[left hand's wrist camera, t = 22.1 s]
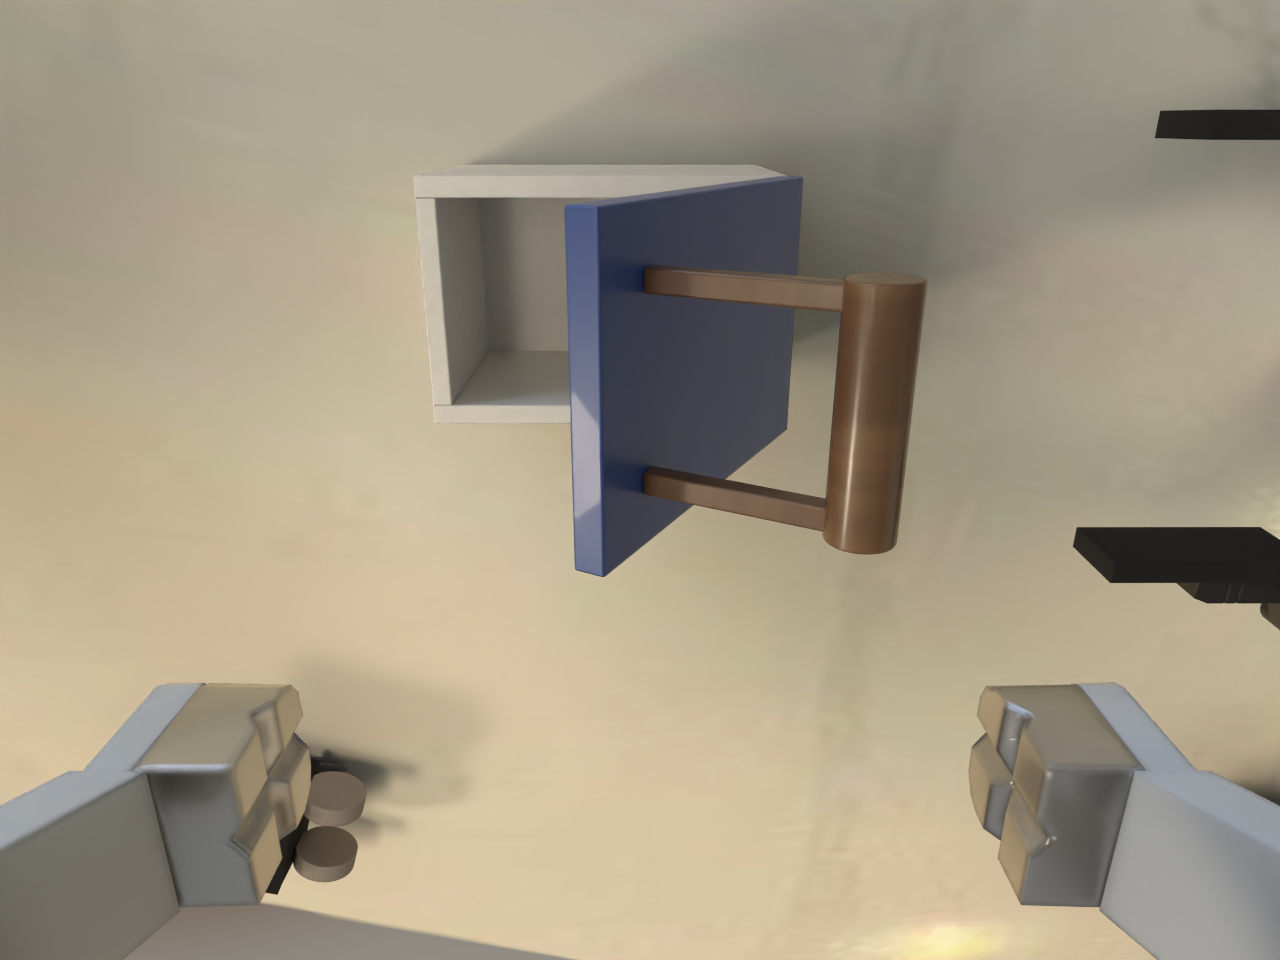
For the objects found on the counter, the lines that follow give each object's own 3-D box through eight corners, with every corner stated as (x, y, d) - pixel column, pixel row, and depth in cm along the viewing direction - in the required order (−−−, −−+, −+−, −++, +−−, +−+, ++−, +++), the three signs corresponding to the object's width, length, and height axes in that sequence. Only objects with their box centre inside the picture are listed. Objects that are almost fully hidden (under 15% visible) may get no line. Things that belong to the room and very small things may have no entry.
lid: (573, 570, 25) (862, 646, 22) (563, 204, 22) (908, 220, 18) (764, 426, 37) (970, 459, 34) (778, 176, 34) (1010, 182, 30)
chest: (476, 362, 48) (433, 423, 38) (463, 164, 44) (411, 175, 34) (746, 362, 48) (774, 424, 38) (755, 164, 44) (788, 175, 34)
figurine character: (381, 732, 58) (132, 699, 55) (361, 819, 51) (74, 786, 48) (366, 812, 60) (126, 784, 57) (345, 905, 53) (70, 879, 50)
